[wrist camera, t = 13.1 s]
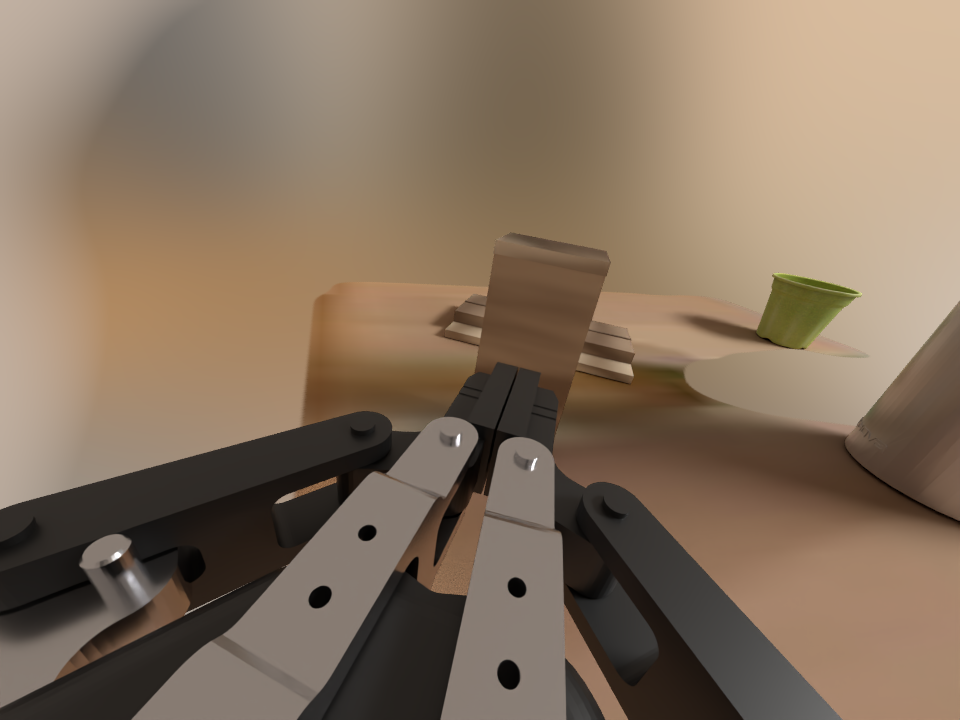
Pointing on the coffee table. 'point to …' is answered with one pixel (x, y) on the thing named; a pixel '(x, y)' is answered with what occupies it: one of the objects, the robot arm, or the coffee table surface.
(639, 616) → the robot arm
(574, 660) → the coffee table surface
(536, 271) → the plank
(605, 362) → the floor board
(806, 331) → the plant pot
